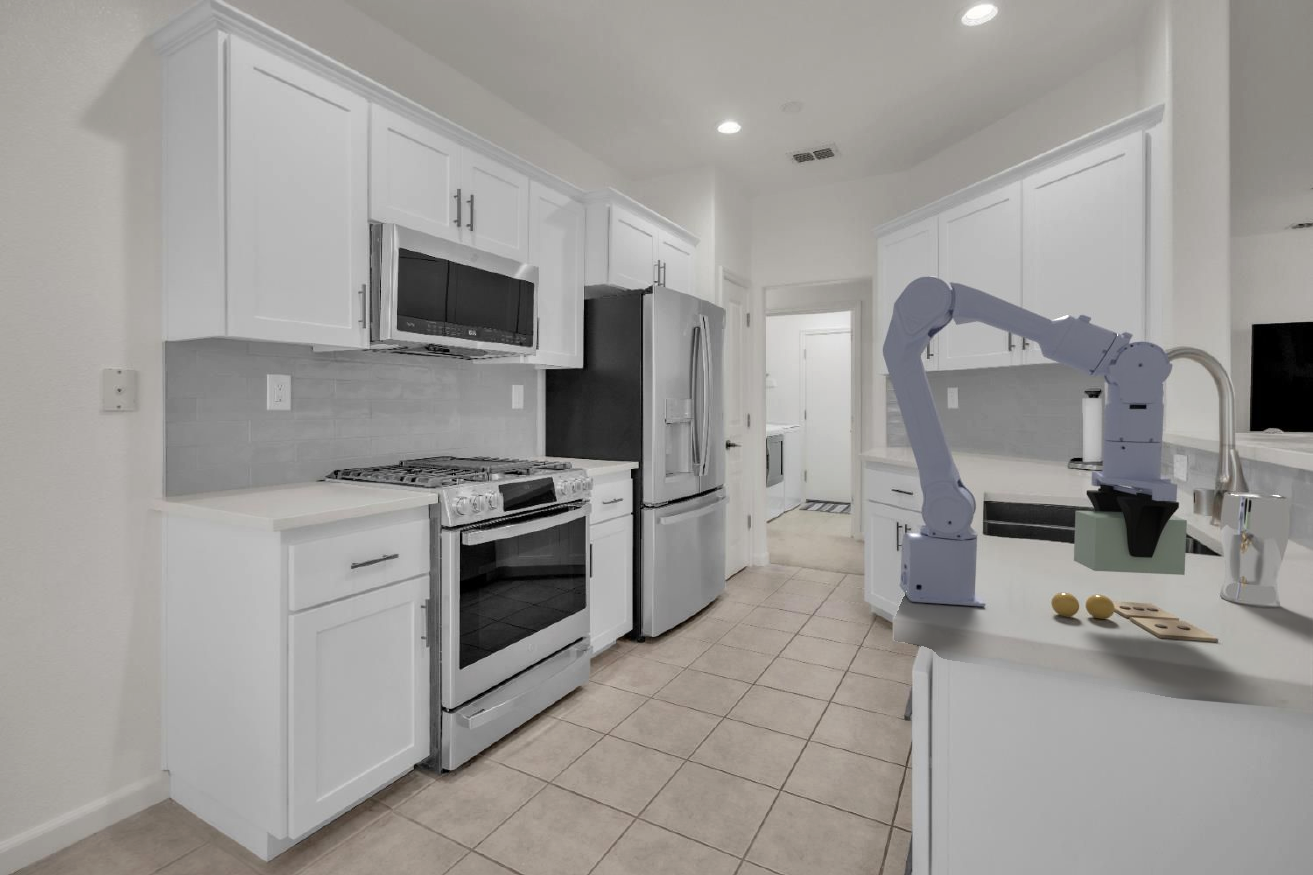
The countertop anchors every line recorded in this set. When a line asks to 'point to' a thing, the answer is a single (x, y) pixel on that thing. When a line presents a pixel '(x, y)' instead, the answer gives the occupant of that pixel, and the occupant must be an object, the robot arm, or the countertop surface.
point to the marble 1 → (1065, 604)
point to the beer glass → (1253, 546)
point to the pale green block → (1126, 545)
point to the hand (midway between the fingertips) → (1127, 551)
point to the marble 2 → (1100, 606)
